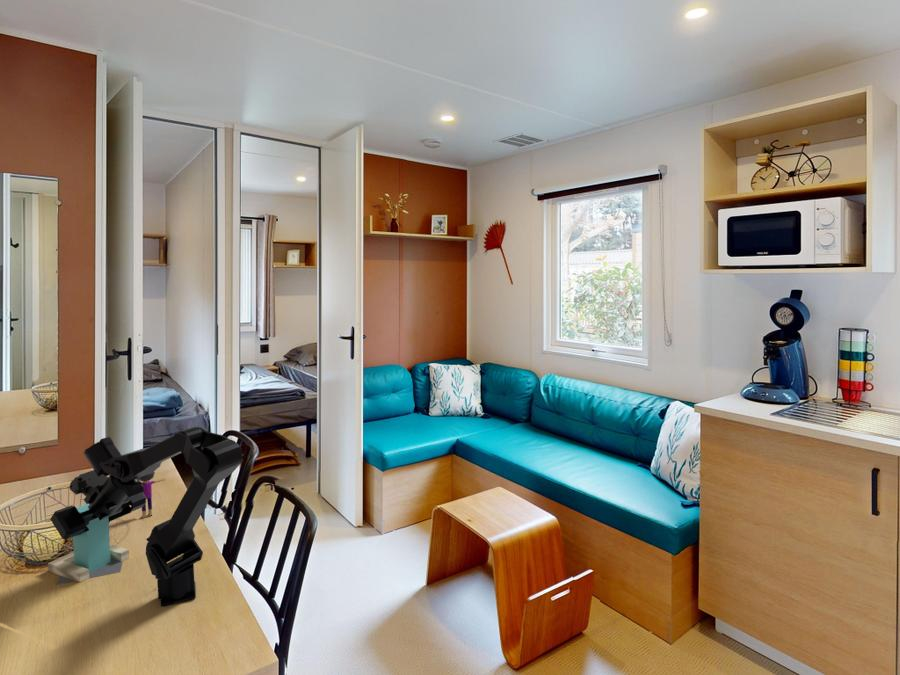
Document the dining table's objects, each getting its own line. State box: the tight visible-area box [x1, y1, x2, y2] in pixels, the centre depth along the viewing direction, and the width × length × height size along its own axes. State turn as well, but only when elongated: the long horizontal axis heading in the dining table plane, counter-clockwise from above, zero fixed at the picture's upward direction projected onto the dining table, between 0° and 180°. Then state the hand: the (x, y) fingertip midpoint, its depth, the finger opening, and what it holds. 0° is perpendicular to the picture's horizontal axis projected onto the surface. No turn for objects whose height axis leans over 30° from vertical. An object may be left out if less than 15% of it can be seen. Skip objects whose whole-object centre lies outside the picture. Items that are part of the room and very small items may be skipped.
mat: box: [55, 558, 123, 586], centre depth 125 cm, size 12×12×1 cm
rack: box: [47, 543, 130, 583], centre depth 126 cm, size 11×12×2 cm
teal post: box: [72, 503, 111, 573], centre depth 124 cm, size 5×5×14 cm
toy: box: [139, 471, 166, 519], centre depth 150 cm, size 10×6×15 cm, turn 136°
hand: (86, 529), depth 125 cm, fingers open, 6 cm apart
